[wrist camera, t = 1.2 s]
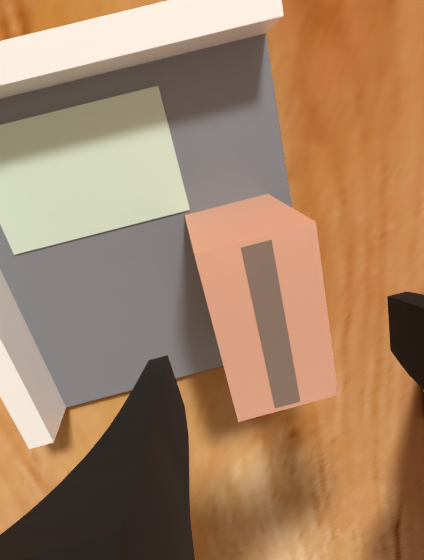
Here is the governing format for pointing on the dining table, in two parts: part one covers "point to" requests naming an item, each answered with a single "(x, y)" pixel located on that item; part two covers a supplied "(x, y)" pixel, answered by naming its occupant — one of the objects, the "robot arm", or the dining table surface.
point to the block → (265, 303)
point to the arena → (123, 192)
